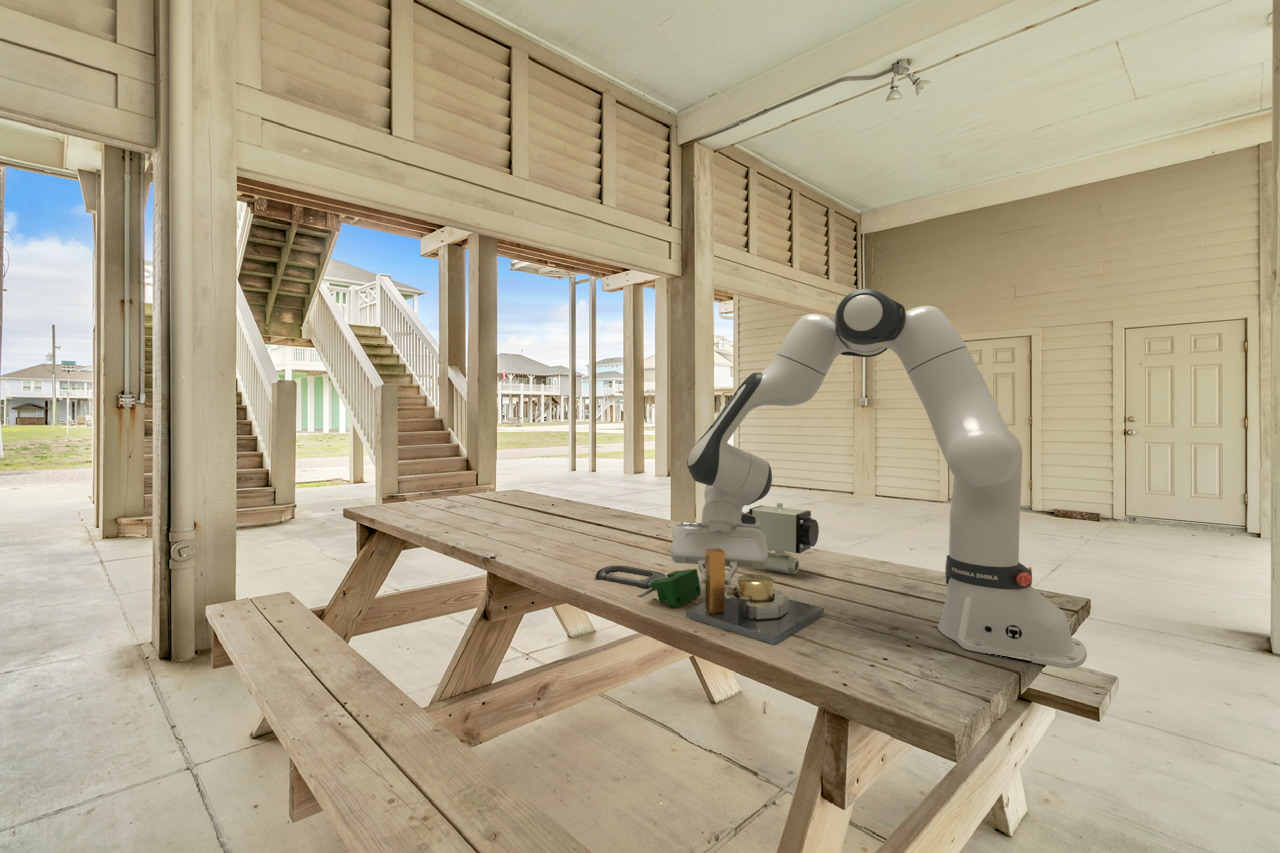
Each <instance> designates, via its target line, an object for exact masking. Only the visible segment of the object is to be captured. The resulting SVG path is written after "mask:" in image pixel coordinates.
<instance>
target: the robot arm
mask: <svg viewBox="0 0 1280 853" xmlns="http://www.w3.org/2000/svg"><path fill="white" fill-rule="evenodd" d="M887 350H890V351H892V352H894V354H895V355H897V357H898V358H899V359H900V361H901V363H902V365H903V367H904V369H905V371H906V374H907V375H908V378H909V380H910V381H911V383H912V385H913V388H914V390H915V391H916V393H917V396H918V399H919V400H920V402H921V403H922V405H923V408H924V410H925V413H926V414H927V418H928V420H929V422H930V425H931V428H932V430H933V433H934V435H935V439H936V440H937V443H938V445H939V448H940V450H941V452H942V455H943V458H944V460H945V462H946V464H947V466H948V468H949V471H950V472H951V473H952V475H953V485H952V496H951V504H950V510H949V539H948V540H949V541H948V542H949V544H948V546H949V547H948V551H949V552H948V554H947V555H946V561H945V566H944V568H945V569H944V570H945V571H944V574H945V583H946V584H945V585H947V586H946V593H945V601H944V605H943V610H942V612H941V617H940V619H939V623H938V624H937V629H938V630H939V632H940V633H941V634H943V635H944V636H945V637H946V638H949V639H951V640H952V641H955V642H956V643H957V644H958V645H959V646H960V647H961V648H962V649H965V650H967V651H972V652H976V653H977V652H978V653H981V654H986V653H987V654H986V655H991V654H997V655H1005V656H1014V657H1022V658H1029V659H1030V660H1032V662H1031V663H1034V664H1040V665H1045V666H1049V667H1055V668H1060V669H1065V670H1067V669H1075V668H1078V667H1080V666H1082V665H1083V664H1084V663H1085V662H1086V660H1087V656H1088V655H1087V647H1086V646H1085V645H1084V643H1083V642H1081V641H1080V640H1079V639H1077V638H1074V637H1072V635H1071V629H1070V624H1069V622H1068V618H1067V616H1066V614H1065V612H1064V611H1063V610H1062V609H1060V607H1058V606H1057V605H1055V604H1054V603H1053V602H1051V601H1050V600H1049V599H1048V598H1046V596H1044V595H1043V594H1041V593H1040V592H1039V591H1037V589H1035V588H1034V587H1032V584H1033V570H1032V567H1031V566H1029V567H1027V566H1025V565H1024V564H1022V563H1020V559H1019V556H1020V553H1019V552H1020V519H1021V518H1020V515H1021V499H1022V498H1021V495H1022V477H1023V476H1022V472H1023V470H1022V469H1023V448H1022V444H1021V442H1020V441H1019V438H1018V436H1016V435H1015V434H1014V433H1013V432H1012V431H1010V430H1009V428H1008V426H1007V424H1006V422H1005V420H1004V418H1003V416H1002V414H1001V412H1000V409H999V407H998V406H997V404H996V402H995V400H994V398H993V396H992V393H991V390H990V389H989V386H988V385H987V382H986V380H985V379H984V377H983V375H982V373H981V371H980V369H979V367H978V366H977V364H976V362H975V360H974V359H973V356H972V354H971V352H970V351H969V349H968V347H967V345H966V342H964V340H963V338H962V336H961V335H960V333H959V332H958V330H957V329H956V327H955V326H954V325H953V323H952V322H951V321H950V319H948V317H947V316H946V315H945V313H943V311H942V310H941V309H940V308H938V307H936V306H932V305H920V306H916V307H914V308H911V309H909V310H906V308H905V306H904V305H903V304H901V303H899V302H898V301H897V300H894V299H893V298H891V297H889V296H888V295H887V294H885V293H883V292H881V291H878V290H876V289H872V288H861V289H856V290H853V291H852V292H850V293H849V294H847V295H846V296H844V298H842V300H841V301H840V302H839V304H838V306H837V307H836V311H835V315H834V316H826V315H824V314H821V313H807V314H804V315H802V316H801V317H799V318H798V320H797V321H796V322H795V323H794V325H793V326H792V328H791V329H790V330H789V331H788V333H787V335H786V337H785V338H784V340H783V342H782V343H781V345H780V347H779V348H778V350H777V352H776V354H775V356H774V358H773V359H772V361H771V362H770V363H769V364H768V365H767V366H766V367H765V368H764V369H763V370H761V371H760V372H759V371H758V372H752V373H750V375H748V376H747V377H746V378H745V379H744V381H743V382H741V384H740V385H739V386H738V387H737V389H736V391H735V392H734V393H733V394H732V396H731V397H730V398H729V400H728V401H727V403H725V406H724V407H723V408H722V410H721V411H720V413H719V414H718V416H716V418H715V419H714V421H713V422H712V424H711V425H710V427H709V428H707V431H705V433H704V434H703V435H702V436H701V437H700V438H699V440H697V442H696V443H695V444H694V446H693V447H692V449H691V450H690V451H689V452H690V453H689V455H688V457H687V461H686V466H687V469H688V472H689V473H690V475H691V477H692V479H693V481H695V482H696V483H700V484H703V485H705V488H704V495H703V496H704V499H705V500H704V501H705V503H704V505H703V507H702V513H701V522H686V521H682V522H680V523H678V524H676V525H675V526H674V527H673V529H672V538H673V539H672V540H671V541H672V542H671V546H670V557H671V559H672V560H673V562H674V563H676V564H690V565H697V567H698V569H699V572H700V574H701V575H702V576H701V583H702V584H705V577H706V549H714V548H720V549H722V550H723V551H724V552H725V567H729V568H730V570H729V571H728V572H727V573H725V586H728V585H732V578H733V577H734V576H735V575H736V573H737V572H738V568H744V569H746V568H747V569H756V570H765V567H766V566H767V565H768V552H769V551H768V548H767V541H766V536H765V534H764V532H763V526H762V521H761V519H760V518H759V517H756V516H753V515H750V514H747V512H744V511H743V509H744V507H745V506H750V505H752V504H754V503H756V502H758V501H759V500H763V498H765V497H766V496H767V495H768V493H769V492H770V490H771V487H772V482H773V473H772V472H773V471H772V467H771V465H770V463H769V462H768V461H767V460H765V459H764V458H762V457H759V456H757V455H755V454H754V453H753V454H752V453H751V452H748V451H745V450H742V449H740V448H739V447H737V446H736V447H735V446H734V445H731V444H729V443H728V442H729V440H730V439H731V438H732V436H733V435H734V433H735V431H736V430H737V429H738V427H739V426H740V425H741V423H742V422H743V421H744V420H745V418H746V417H747V415H748V414H749V412H751V411H752V410H754V409H756V408H759V407H763V406H777V407H778V406H779V407H789V406H790V407H793V406H797V405H798V406H799V405H800V404H801V405H802V404H804V403H806V402H808V401H810V400H811V399H812V398H813V397H815V395H816V393H817V392H818V391H819V390H820V387H821V385H823V384H822V383H824V380H825V378H826V376H827V374H828V372H829V370H830V368H831V366H832V364H833V362H834V361H835V360H836V358H837V357H838V356H839V355H842V356H851V357H859V358H873V357H876V356H878V355H881V354H883V353H885V351H887ZM997 655H996V656H997Z"/></svg>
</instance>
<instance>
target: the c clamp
mask: <svg viewBox="0 0 1280 853" xmlns="http://www.w3.org/2000/svg"><path fill="white" fill-rule="evenodd" d="M618 571H619V572H621V573H627V574H631V573H633V574H632V575H637V574H638V576H642V575H643V576H644V577H647V578H641V579H634V578H629V577H624V576H620V575H613V574H610V572H611V573H619V572H618ZM648 576H649V577H648ZM665 578H668V577H667V574H665V573H663V572H660V571H655V570H649V569H645V568H639V567H638V568H637V567H635V566H628V565H621V564H620V565H618V564H617V565H607V566H605V567H602V568H600V569H598V570H597V571H596V574H595V580H596V581H597V580H599V581H601V580H603V579H604V580H606V581H612V582H616V583H620V582H621V584H625V583H626V585H630V584H631V586H636V587H639V588H640V587H641V588H640V589H647V590H645V591H643V592H641V593H640V594H638V595H637V598H638V597H641V598H642V596H643V597H644V596H646V595H647V594H649V593H650V592H651V591H653V589H652V588H651V583H650V582H652V581H654V580H658V579H665ZM600 579H601V580H600ZM656 591H657V589H656ZM645 594H646V595H645Z"/></svg>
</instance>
